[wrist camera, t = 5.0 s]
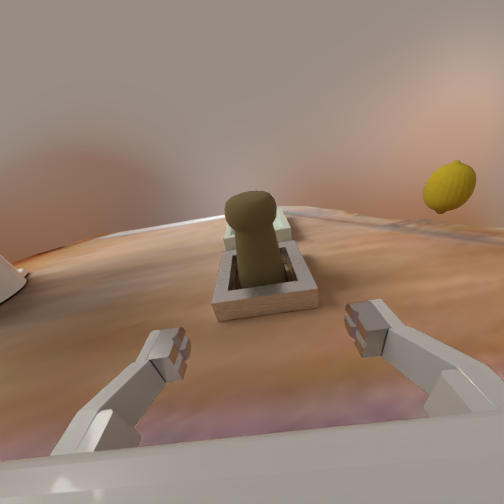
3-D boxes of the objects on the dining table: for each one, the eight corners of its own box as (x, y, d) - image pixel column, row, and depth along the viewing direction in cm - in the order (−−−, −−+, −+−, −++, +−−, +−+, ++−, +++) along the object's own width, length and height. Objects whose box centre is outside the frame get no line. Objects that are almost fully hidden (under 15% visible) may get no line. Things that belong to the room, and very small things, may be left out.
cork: (267, 263, 27) (255, 184, 22) (298, 282, 23) (292, 187, 17) (231, 282, 25) (207, 198, 20) (257, 309, 20) (235, 207, 15)
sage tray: (226, 252, 32) (223, 238, 31) (231, 227, 42) (228, 216, 41) (292, 241, 32) (291, 227, 31) (281, 218, 41) (280, 207, 40)
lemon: (461, 208, 32) (481, 155, 28) (466, 221, 28) (489, 162, 24) (417, 207, 35) (430, 159, 31) (417, 218, 31) (431, 165, 27)
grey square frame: (217, 321, 20) (211, 303, 18) (226, 266, 29) (222, 251, 27) (318, 307, 19) (318, 288, 18) (295, 255, 28) (294, 240, 27)
